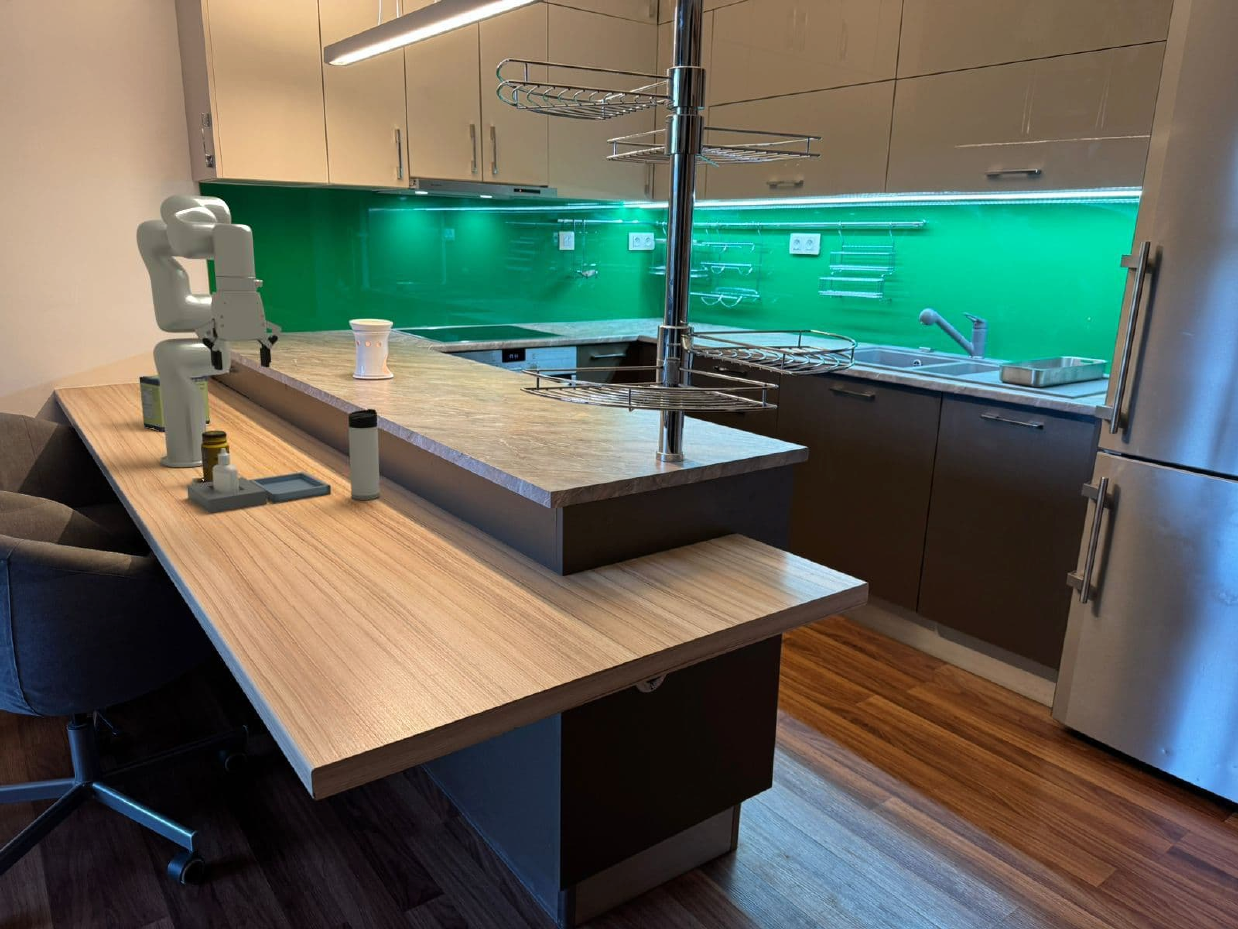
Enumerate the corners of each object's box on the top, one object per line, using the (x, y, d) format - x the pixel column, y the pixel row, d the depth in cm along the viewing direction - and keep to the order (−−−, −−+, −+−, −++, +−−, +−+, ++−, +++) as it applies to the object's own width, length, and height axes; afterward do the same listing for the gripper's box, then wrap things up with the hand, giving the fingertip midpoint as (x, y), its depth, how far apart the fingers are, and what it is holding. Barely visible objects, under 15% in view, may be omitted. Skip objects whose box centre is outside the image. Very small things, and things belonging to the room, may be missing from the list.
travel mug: (386, 495, 197) (384, 410, 192) (367, 502, 191) (364, 414, 186) (365, 491, 199) (362, 407, 194) (345, 497, 193) (342, 411, 188)
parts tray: (249, 488, 198) (248, 479, 197) (303, 479, 206) (303, 471, 206) (274, 503, 187) (274, 494, 187) (330, 493, 196) (330, 485, 195)
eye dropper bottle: (220, 505, 184) (215, 452, 181) (213, 499, 188) (209, 446, 185) (241, 502, 187) (237, 449, 184) (234, 496, 191) (230, 444, 188)
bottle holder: (188, 498, 188) (186, 485, 188) (243, 489, 196) (242, 477, 196) (209, 513, 178) (208, 499, 178) (266, 503, 186) (266, 490, 186)
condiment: (235, 483, 201) (232, 434, 199) (196, 487, 197) (192, 437, 194) (230, 476, 207) (226, 428, 204) (191, 479, 203) (187, 430, 200)
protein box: (211, 425, 262) (207, 375, 259) (162, 432, 250) (157, 380, 246) (191, 420, 268) (187, 371, 264) (142, 427, 255) (137, 376, 251)
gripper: (271, 285, 184) (276, 363, 188) (185, 284, 172) (192, 368, 176) (285, 286, 178) (290, 367, 182) (198, 286, 167) (205, 372, 171)
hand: (242, 368), depth 179 cm, fingers open, 9 cm apart
